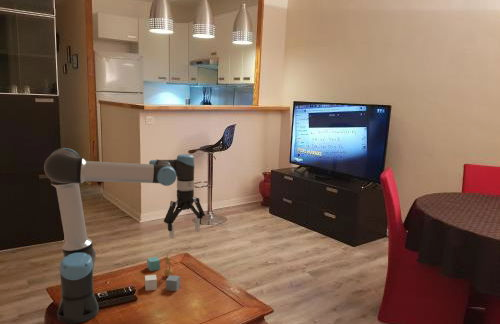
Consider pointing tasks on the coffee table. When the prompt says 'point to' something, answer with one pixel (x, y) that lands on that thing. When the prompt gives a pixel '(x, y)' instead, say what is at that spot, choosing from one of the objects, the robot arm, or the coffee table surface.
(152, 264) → the cube teal
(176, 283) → the cube slate
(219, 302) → the coffee table surface
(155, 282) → the cube offwhite
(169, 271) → the figurine
